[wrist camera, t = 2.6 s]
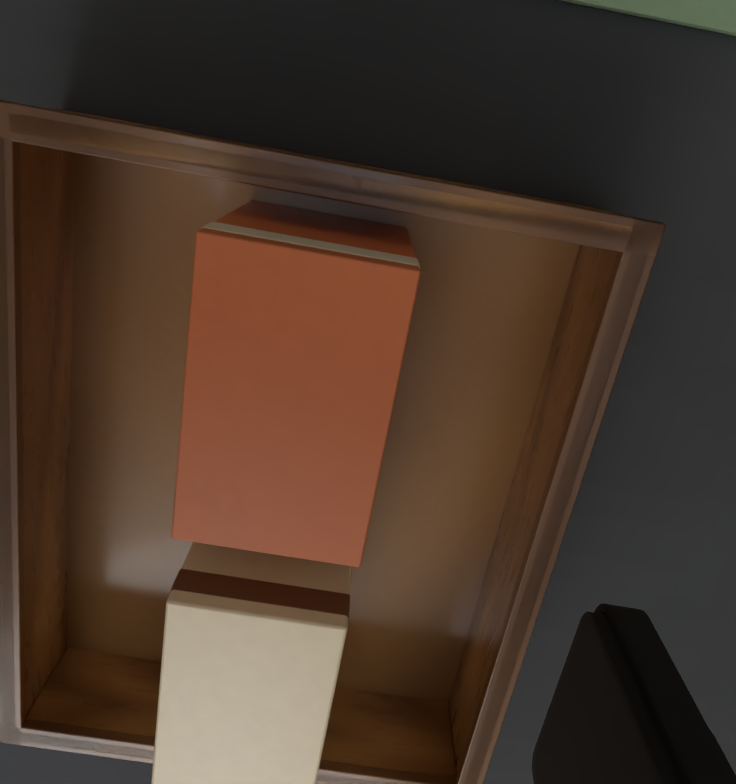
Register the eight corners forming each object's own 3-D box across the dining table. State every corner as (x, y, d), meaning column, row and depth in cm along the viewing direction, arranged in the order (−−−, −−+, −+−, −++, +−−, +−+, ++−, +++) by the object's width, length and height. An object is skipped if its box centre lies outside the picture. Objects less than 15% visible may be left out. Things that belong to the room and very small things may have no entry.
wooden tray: (52, 651, 28) (-4, 742, 24) (56, 102, 21) (-26, 96, 16) (460, 711, 29) (474, 808, 25) (610, 205, 22) (667, 223, 17)
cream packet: (201, 648, 28) (148, 808, 21) (220, 476, 25) (164, 600, 18) (323, 665, 28) (307, 829, 21) (356, 498, 25) (348, 628, 19)
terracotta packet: (225, 428, 24) (169, 539, 18) (250, 198, 21) (194, 229, 15) (365, 451, 24) (361, 569, 18) (408, 226, 22) (422, 270, 15)
